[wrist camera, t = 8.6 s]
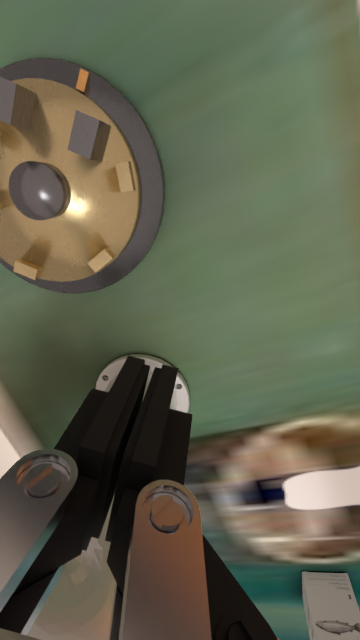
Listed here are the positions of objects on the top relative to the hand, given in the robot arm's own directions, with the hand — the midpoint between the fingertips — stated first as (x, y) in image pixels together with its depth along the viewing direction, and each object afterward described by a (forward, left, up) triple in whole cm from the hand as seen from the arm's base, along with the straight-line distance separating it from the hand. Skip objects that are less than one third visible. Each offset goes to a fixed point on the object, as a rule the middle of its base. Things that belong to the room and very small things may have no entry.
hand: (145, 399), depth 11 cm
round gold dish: (+5, +15, -25) cm, 30 cm away
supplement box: (-54, -25, -27) cm, 66 cm away
